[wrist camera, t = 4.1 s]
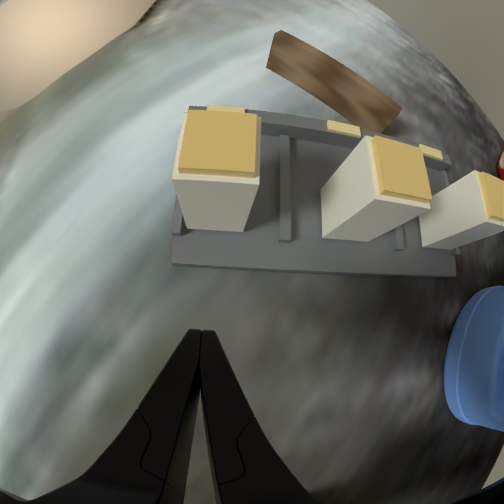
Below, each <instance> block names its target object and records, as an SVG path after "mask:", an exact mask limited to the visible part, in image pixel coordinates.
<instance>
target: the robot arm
mask: <svg viewBox="0 0 504 504" xmlns="http://www.w3.org/2000/svg"><path fill="white" fill-rule="evenodd" d="M200 388H201V401H202V410H203V418H204V426H205V434H206V441H207V448H208V455H209V462H210V468H211V474H212V480H213V486H214V492H215V497H216V502H217V504H323V503H322V502H320V501H319V500H317V499H316V498H315V497H313V496H312V495H311V494H310V493H309V492H308V491H307V490H306V489H305V488H304V487H303V486H302V485H301V484H300V483H299V482H298V480H297V479H296V478H295V477H294V475H293V474H292V473H291V472H290V470H289V469H288V468H287V466H286V465H285V464H284V462H283V461H282V460H281V458H280V457H279V456H278V454H277V453H276V452H275V450H274V449H273V447H272V446H271V444H270V443H269V441H268V440H267V438H266V436H265V434H264V433H263V431H262V429H261V427H260V425H259V423H258V421H257V420H256V418H255V417H254V414H253V412H252V410H251V408H250V406H249V404H248V402H247V400H246V397H245V395H244V393H243V391H242V389H241V387H240V385H239V383H238V381H237V379H236V376H235V374H234V372H233V370H232V368H231V366H230V363H229V361H228V359H227V357H226V355H225V352H224V350H223V348H222V346H221V343H220V341H219V339H218V336H217V334H216V332H215V331H214V330H203V331H201V330H199V329H189V330H188V331H187V332H186V334H185V335H184V337H183V338H182V340H181V342H180V343H179V345H178V346H177V348H176V349H175V351H174V352H173V354H172V355H171V357H170V358H169V360H168V361H167V363H166V364H165V366H164V367H163V369H162V370H161V372H160V373H159V375H158V377H157V378H156V380H155V381H154V383H153V384H152V386H151V387H150V389H149V390H148V392H147V393H146V395H145V397H144V398H143V400H142V401H141V403H140V404H139V406H138V409H136V410H135V412H134V413H133V415H132V416H131V418H130V419H129V421H128V422H127V424H126V425H125V426H124V428H123V429H122V431H121V432H120V433H119V434H118V436H117V437H116V438H115V439H114V440H113V442H112V443H111V444H110V445H109V446H108V447H107V449H106V450H105V451H104V452H103V453H102V454H101V455H100V457H99V458H98V459H97V460H96V461H95V462H94V463H93V465H92V466H91V467H90V468H89V469H88V470H87V471H86V472H85V473H83V474H82V475H81V476H80V477H78V478H77V479H75V480H73V481H71V482H69V483H67V484H65V485H63V486H61V487H59V488H57V489H55V490H53V491H51V492H49V493H47V494H45V495H42V496H40V497H38V498H36V499H33V500H26V499H23V498H21V497H19V496H16V495H14V494H12V493H9V492H7V491H5V490H3V489H0V504H183V503H184V501H183V500H184V495H185V488H186V481H187V474H188V467H189V460H190V454H191V447H192V441H193V434H194V428H195V422H196V415H197V409H198V403H199V397H200ZM451 504H504V478H502V479H500V480H499V481H497V482H495V483H493V484H491V485H489V486H487V487H485V488H483V489H481V490H479V491H477V492H475V493H473V494H471V495H468V496H466V497H464V498H462V499H459V500H457V501H455V502H453V503H451Z"/></svg>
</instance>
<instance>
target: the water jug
mask: <svg viewBox="0 0 504 504" xmlns="http://www.w3.org/2000/svg"><path fill="white" fill-rule="evenodd" d="M444 391H445V397H446V401H447V404H448V406H449V409H450V410H451V412H452V413H453V415H454V416H455V417H456V418H457V419H459V420H461V421H463V422H465V423H468V424H471V425H481V426H484V427H488V428H491V429H495V430H499V431H503V432H504V286H494V287H488V288H484V289H482V290H480V291H478V292H477V293H476V294H474V295H473V296H472V297H471V298H470V299H469V300H468V302H467V303H466V304H465V306H464V307H463V309H462V310H461V312H460V314H459V316H458V318H457V320H456V322H455V325H454V327H453V330H452V333H451V336H450V339H449V343H448V347H447V352H446V357H445V365H444Z"/></svg>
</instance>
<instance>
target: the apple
mask: <svg viewBox="0 0 504 504" xmlns="http://www.w3.org/2000/svg"><path fill="white" fill-rule="evenodd" d="M497 170H498V174H499V177H500V179H501V180H503V181H504V149H503V151H502V152H501V155H500V158H499V161H498V163H497Z"/></svg>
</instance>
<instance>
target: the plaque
mask: <svg viewBox="0 0 504 504" xmlns="http://www.w3.org/2000/svg"><path fill="white" fill-rule="evenodd" d="M266 68H268V69H270V70H272V71H274V72H275V73H277V74H279V75H281V76H282V77H284V78H286V79H287V80H289V81H291V82H292V83H294V84H296V85H297V86H299V87H301V88H302V89H304V90H305V91H307V92H308V93H310V94H312V95H313V96H315V97H316V98H318V99H319V100H321V101H322V102H324V103H325V104H327V105H328V106H330V107H331V108H332V109H334V110H335V111H337V112H338V113H339V114H341V115H342V116H344V117H345V118H346V119H348V120H349V121H350V122H352V123H353V124H354V125H356V126H358V127H360V128H361V129H365V130H369V131H373V132H377V133H382V132H383V131H384V130H385V129H386V128H387V127H388V126H389V124H390V123H391V122H392V121H393V120H394V119H395V118H396V117H397V115H398V114H399V113H400V111H401V109H402V107H401V106H399V105H398V104H397V103H396V102H395V101H393V100H392V99H391V98H389V97H388V96H387V95H386V94H384V93H383V92H382V91H380V90H379V89H378V88H376V87H375V86H374V85H372V84H371V83H369V82H368V81H367V80H365V79H364V78H362V77H361V76H359V75H358V74H357V73H355V72H354V71H352V70H351V69H349V68H348V67H346V66H344V65H343V64H341V63H340V62H338V61H337V60H335V59H333V58H332V57H330V56H328V55H327V54H325V53H323V52H322V51H320V50H318V49H316V48H315V47H313V46H311V45H309V44H307V43H305V42H304V41H302V40H300V39H298V38H296V37H294V36H292V35H290V34H288V33H286V32H284V31H282V30H280V31H278V32H277V33H275V34H274V37H273V41H272V45H271V50H270V54H269V58H268V62H267V66H266Z"/></svg>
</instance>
